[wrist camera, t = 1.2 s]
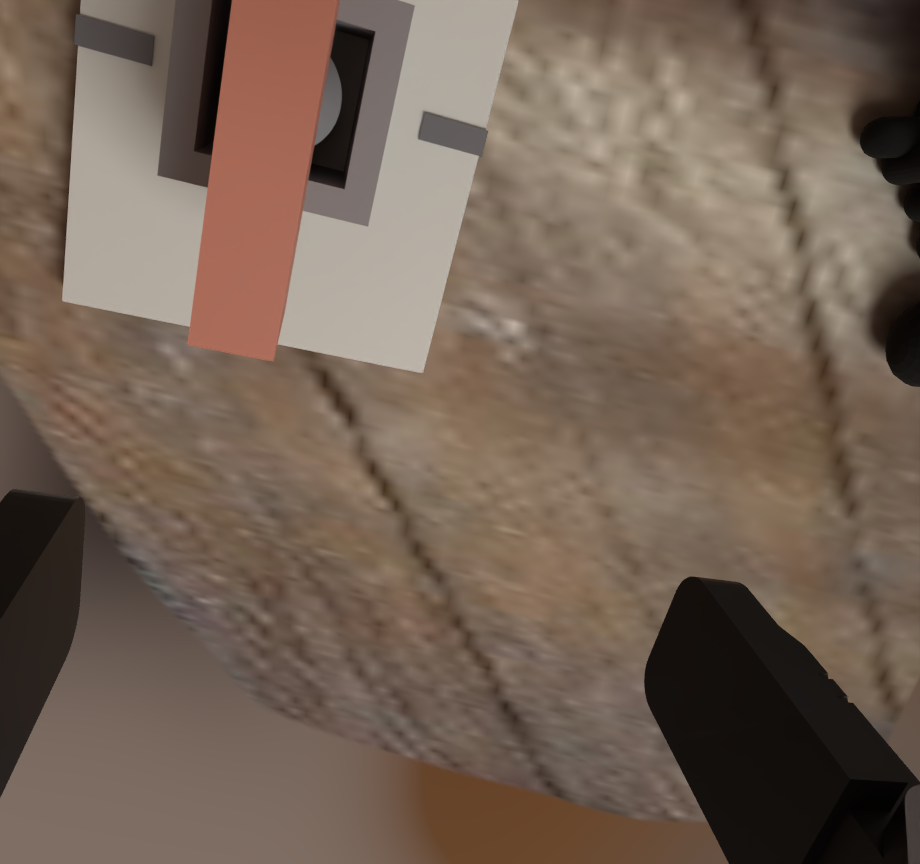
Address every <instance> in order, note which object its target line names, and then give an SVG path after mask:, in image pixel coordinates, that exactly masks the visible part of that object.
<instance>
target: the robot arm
mask: <svg viewBox="0 0 920 864" xmlns="http://www.w3.org/2000/svg"><path fill="white" fill-rule="evenodd" d="M84 525H85V504H84V500H83V499H82V498H81V497H73V496H65V495H58V494H49V493H42V492H34V491H26V490H17V489H13V490H11V491H9V493H8V494H7V495H6V496H5V497H4V498H3V500H2V501H1V502H0V797H1V795H2V793H3V791H4V789H5V787H6V784H7V782H8V780H9V778H10V776H11V774H12V772H13V770H14V767H15V765H16V763H17V761H18V759H19V757H20V754H21V753H22V751H23V748H24V746H25V744H26V742H27V740H28V738H29V736H30V734H31V731H32V729H33V727H34V725H35V723H36V721H37V719H38V717H39V715H40V713H41V710H42V708H43V706H44V704H45V702H46V700H47V698H48V696H49V694H50V691H51V689H52V687H53V685H54V683H55V681H56V679H57V677H58V674H59V672H60V670H61V668H62V666H63V664H64V662H65V660H66V657H67V655H68V652H69V650H70V647H71V644H72V641H73V637H74V633H75V629H76V625H77V619H78V614H79V606H80V592H81V576H82V559H83V541H84V527H85V526H84ZM644 685H645V694H646V699H647V702H648V705H649V707H650V710H651V712H652V714H653V715H654V717H655V719H656V721H657V723H658V725H659V727H660V729H661V731H662V733H663V735H664V737H665V739H666V741H667V743H668V745H669V747H670V749H671V751H672V753H673V755H674V757H675V759H676V761H677V763H678V764H679V766H680V768H681V770H682V772H683V774H684V776H685V778H686V780H687V782H688V784H689V786H690V788H691V790H692V792H693V794H694V796H695V798H696V800H697V802H698V804H699V806H700V808H701V810H702V812H703V814H704V815H705V817H706V819H707V821H708V823H709V825H710V827H711V829H712V831H713V833H714V835H715V837H716V839H717V841H718V843H719V845H720V847H721V849H722V851H723V853H724V855H725V857H726V859H727V861H728V862H729V864H920V782H919V780H918V779H917V778H916V777H915V776H914V774H913V773H912V772H911V771H910V770H909V769H908V767H907V766H906V765H905V764H904V763H903V761H902V760H901V759H900V758H899V757H898V756H897V754H896V753H895V752H894V751H893V750H892V748H891V747H890V746H889V745H888V744H887V743H886V741H885V740H884V739H883V738H882V737H881V735H880V734H879V733H878V732H877V731H876V730H875V728H874V727H873V726H872V725H871V724H870V722H869V721H868V720H867V719H866V718H865V717H864V715H863V714H862V713H861V712H860V711H859V709H858V708H857V707H856V706H855V705H854V704H853V703H848V700H847V698H848V696H847V695H846V694H845V693H844V692H843V691H842V689H841V688H840V687H839V686H838V685H837V683H836V682H835V681H834V680H833V679H828V673H827V672H826V670H825V669H824V668H823V667H822V666H821V665H820V663H819V662H818V661H817V660H816V659H815V657H814V656H813V655H812V654H811V653H810V652H809V650H808V649H807V648H806V647H805V646H804V645H803V644H802V643H800V642H799V641H798V640H796V639H795V638H794V637H792V636H791V635H790V634H789V633H787V632H786V631H785V630H783V629H782V628H781V627H780V626H778V624H777V623H776V622H775V621H774V620H773V618H772V617H771V616H770V615H769V614H768V612H767V611H766V610H765V609H764V608H763V606H762V605H761V604H760V603H759V602H758V600H757V599H756V598H755V597H754V595H753V594H752V593H751V592H750V591H749V589H748V588H747V587H746V586H745V585H743V584H741V583H739V582H732V581H724V580H717V579H709V578H701V577H688V578H686V579H685V580H683V581H682V582H681V584H680V585H679V587H678V588H677V590H676V593H675V595H674V598H673V600H672V602H671V605H670V607H669V610H668V612H667V615H666V617H665V619H664V622H663V624H662V627H661V629H660V631H659V634H658V636H657V639H656V641H655V644H654V646H653V648H652V651H651V653H650V656H649V658H648V661H647V664H646V669H645V678H644Z"/></svg>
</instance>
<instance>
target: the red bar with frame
mask: <svg viewBox="0 0 920 864" xmlns="http://www.w3.org/2000/svg"><path fill="white" fill-rule="evenodd" d="M414 7H415V5H412V4H409V3H406V2H403V1H399V0H175V10H174V19H173V29H172V39H171V48H170V58H169V67H168V77H167V87H166V96H165V106H164V116H163V125H162V135H161V144H160V154H159V164H158V173H157V176H161V177H165V178H170V179H174V180H178V181H182V182H186V183H190V184H194V185H198V186H202V187H207V188H208V190H207V198H206V205H205V213H204V221H203V229H202V236H201V244H200V252H199V259H198V267H197V275H196V283H195V290H194V298H193V306H192V314H191V321H190V329H189V337H188V344H187V345H191V346H196V347H201V348H206V349H211V350H216V351H222V352H227V353H232V354H237V355H242V356H247V357H252V358H258V359H263V360H268V361H273V362H274V357H275V353H276V349H277V344H278V340H279V336H280V331H281V327H282V323H283V318H284V314H285V308H286V303H287V297H288V291H289V286H290V280H291V275H292V269H293V263H294V258H295V252H296V246H297V241H298V235H299V229H300V224H301V218H302V213H303V211H305V212H309V213H314V214H318V215H322V216H326V217H330V218H334V219H338V220H342V221H347V222H351V223H355V224H359V225H363V226H367V227H368V225H369V220H370V215H371V211H372V206H373V201H374V196H375V192H376V187H377V182H378V177H379V173H380V168H381V163H382V159H383V154H384V149H385V144H386V140H387V135H388V130H389V125H390V121H391V116H392V111H393V107H394V102H395V97H396V92H397V88H398V83H399V78H400V73H401V69H402V64H403V59H404V54H405V50H406V45H407V40H408V36H409V31H410V26H411V21H412V17H413V12H414ZM335 30H338V31H341V32H344V33H348V34H351V35H354V36H358V37H361V38H364V39H368V40H369V43H368V48H367V54H366V59H365V64H364V69H363V74H362V79H361V85H360V90H359V95H358V100H357V105H356V110H355V115H354V121H353V126H352V131H351V136H350V141H349V146H348V152H347V157H346V162H345V167H344V172H343V171H340V170H336V169H332V168H328V167H324V166H320V165H316V164H312V163H311V162H312V156H313V151H314V145H315V139H316V134H317V128H318V123H319V117H320V111H321V106H322V100H323V94H324V89H325V83H326V78H327V72H328V66H329V61H330V55H331V49H332V44H333V38H334V32H335Z"/></svg>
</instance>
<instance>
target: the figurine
mask: <svg viewBox="0 0 920 864" xmlns="http://www.w3.org/2000/svg"><path fill="white" fill-rule="evenodd" d="M860 145H861V148H862V150H863V151H864V153H865V154H867V155H868V156H870V157H872V158H885V159H884V162H883V164H882V174H883V176H884V178H885V179H886V180H887V181H888V182H889V183H891V184H894V185H904V184H911V183H918V182H920V102H919V104H918V106H917V109H916V111H915V114H914V116H913V117H881V118H878V119H875V120H874V121H872V122H870V123H869V124H868V125H867V126H866V127H865V128H864V130H863V132H862V134H861V138H860ZM904 210H905V213H906V215H907V216H908V217H909V218H910V219H912V220H914V221H917V222H920V187H918V188H916V189H914V190H913V191H912V192H911V193H910V194H909V195H908V196H907V198H906V200H905V203H904ZM917 252H918V256H919V258H920V239H919V241H918V245H917ZM886 359H887V362H888V364H889V367H890V369H891V371H892V373H893V374H894V375H895V376H896V377H897V378H899V379H900V380H901V381H903V382H904V383H905V384H908V385H910V386H916V387H920V304H918V305H916V306H914V307H912V308H910V309H908V310H906V311H905V312H904V313H903V314H902V315H901V316H900V317H899V319H898V320H897V321H896V322H895V324H894V325H893V327H892V328H891V330H890V333H889V335H888V338H887V343H886Z"/></svg>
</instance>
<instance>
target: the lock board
mask: <svg viewBox="0 0 920 864" xmlns="http://www.w3.org/2000/svg"><path fill="white" fill-rule="evenodd" d="M399 1H403V2H406V3H409V4H412V5H415V7H414V12H413V17H412V21H411V26H410V31H409V36H408V40H407V45H406V50H405V54H404V59H403V64H402V69H401V73H400V78H399V83H398V88H397V92H396V97H395V102H394V107H393V111H392V116H391V121H390V125H389V130H388V135H387V140H386V144H385V149H384V154H383V159H382V163H381V168H380V173H379V177H378V182H377V187H376V192H375V196H374V201H373V206H372V211H371V215H370V220H369V225H368V227H367V226H363V225H359V224H355V223H351V222H347V221H342V220H338V219H334V218H330V217H326V216H322V215H318V214H314V213H309V212H305V211H303V213H302V218H301V224H300V229H299V235H298V241H297V246H296V252H295V258H294V263H293V269H292V275H291V280H290V286H289V291H288V297H287V303H286V308H285V314H284V318H283V323H282V327H281V331H280V336H279V340H278V344H279V345H284V346H289V347H294V348H299V349H304V350H309V351H314V352H319V353H324V354H329V355H334V356H339V357H344V358H349V359H354V360H359V361H364V362H369V363H374V364H379V365H384V366H389V367H394V368H399V369H404V370H409V371H414V372H419V373H423V370H424V366H425V363H426V359H427V355H428V351H429V347H430V343H431V339H432V335H433V332H434V328H435V324H436V320H437V316H438V312H439V308H440V304H441V300H442V297H443V293H444V289H445V285H446V281H447V277H448V273H449V269H450V265H451V262H452V258H453V254H454V250H455V246H456V242H457V238H458V234H459V230H460V227H461V223H462V219H463V215H464V211H465V207H466V203H467V199H468V196H469V192H470V188H471V184H472V180H473V176H474V172H475V168H476V164H477V161H478V157H479V156H481V157H482V153H483V149H484V145H485V142H486V138H487V134H488V131H487V130H485V129H486V126H487V122H488V118H489V114H490V110H491V106H492V102H493V98H494V94H495V91H496V87H497V83H498V79H499V75H500V71H501V67H502V63H503V60H504V56H505V52H506V48H507V44H508V40H509V36H510V32H511V28H512V25H513V21H514V17H515V13H516V9H517V5H518V1H519V0H399ZM174 10H175V0H81V7H80V15H79V14H76V20H75V37H74V45H77V46H78V55H77V72H76V88H75V104H74V120H73V136H72V152H71V168H70V185H69V201H68V217H67V233H66V249H65V265H64V282H63V298H62V301H64V302H69V303H74V304H79V305H84V306H89V307H94V308H99V309H104V310H109V311H114V312H119V313H124V314H129V315H134V316H139V317H144V318H149V319H154V320H159V321H164V322H169V323H174V324H179V325H184V326H189V327H190V321H191V314H192V306H193V298H194V290H195V283H196V275H197V267H198V259H199V252H200V244H201V236H202V229H203V221H204V213H205V205H206V198H207V190H208V188H207V187H202V186H198V185H194V184H190V183H186V182H182V181H178V180H174V179H170V178H165V177H161V176H157V173H158V164H159V154H160V144H161V135H162V125H163V116H164V106H165V96H166V87H167V77H168V67H169V58H170V48H171V39H172V29H173V19H174ZM368 43H369V40H368V39H364V38H361V37H358V36H354V35H351V34H348V33H344V32H341V31H338V30H335V32H334V38H333V44H332V49H331V55H330V61H329V66H328V72H327V78H326V83H325V89H324V94H323V100H322V106H321V111H320V117H319V123H318V128H317V134H316V139H315V145H314V151H313V156H312V162H311V163H312V164H316V165H320V166H324V167H328V168H332V169H336V170H340V171H343V172H344V167H345V162H346V157H347V152H348V146H349V141H350V136H351V131H352V126H353V121H354V115H355V110H356V105H357V100H358V95H359V90H360V85H361V79H362V74H363V69H364V64H365V59H366V54H367V48H368Z"/></svg>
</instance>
